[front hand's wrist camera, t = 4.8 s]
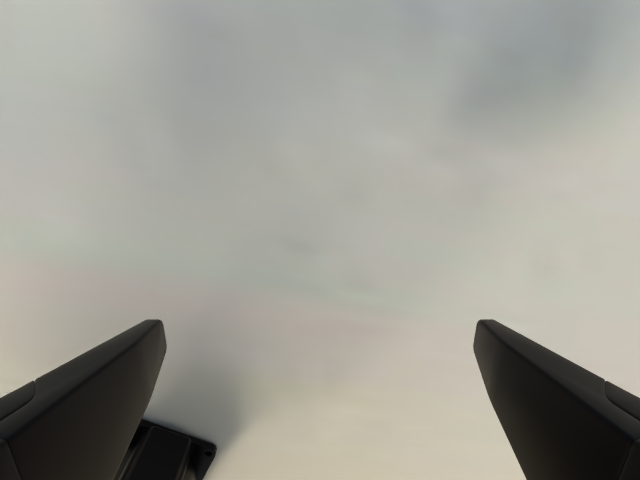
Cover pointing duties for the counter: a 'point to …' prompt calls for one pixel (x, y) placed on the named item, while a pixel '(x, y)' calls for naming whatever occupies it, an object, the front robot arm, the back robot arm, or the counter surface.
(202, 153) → the counter surface
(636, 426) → the front robot arm
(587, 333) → the counter surface
